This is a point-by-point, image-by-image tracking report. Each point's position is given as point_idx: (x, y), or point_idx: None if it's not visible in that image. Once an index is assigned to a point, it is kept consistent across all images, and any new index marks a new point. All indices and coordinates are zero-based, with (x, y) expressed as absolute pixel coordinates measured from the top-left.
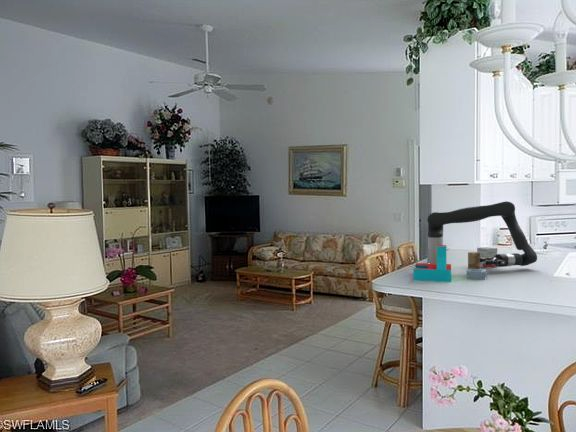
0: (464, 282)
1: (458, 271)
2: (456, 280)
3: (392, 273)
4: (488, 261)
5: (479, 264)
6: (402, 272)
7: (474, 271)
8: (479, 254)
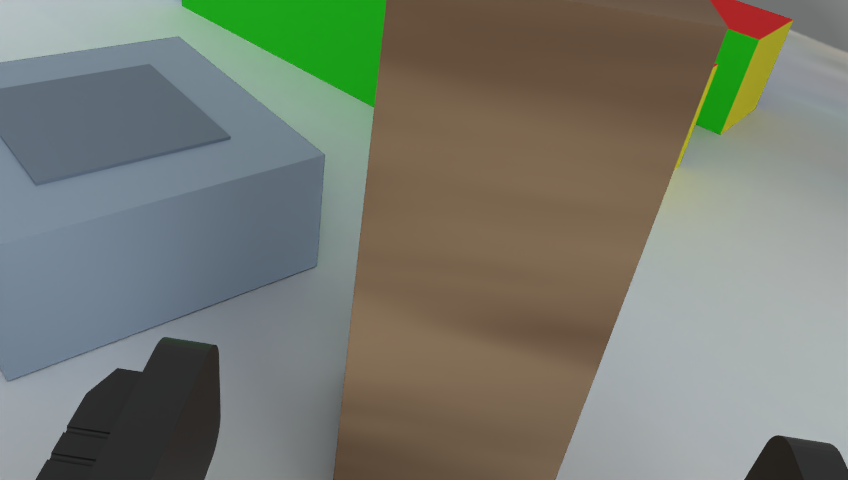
0: (61, 32)
1: (763, 402)
2: None
3: None
4: (132, 414)
5: (351, 324)
6: None
7: (72, 60)
8: (387, 26)
